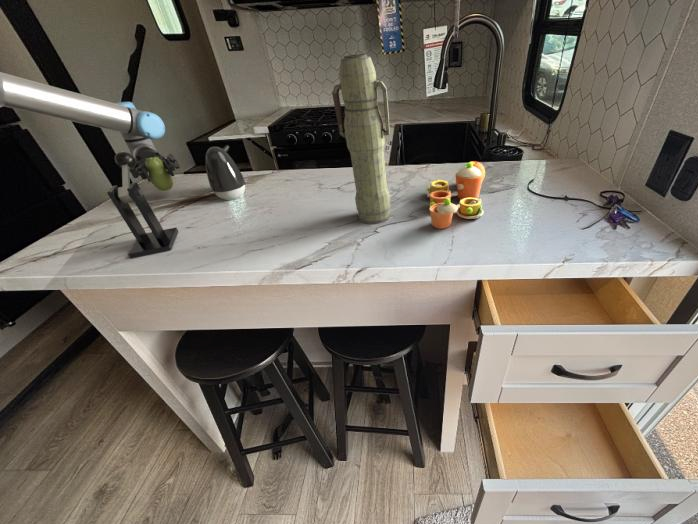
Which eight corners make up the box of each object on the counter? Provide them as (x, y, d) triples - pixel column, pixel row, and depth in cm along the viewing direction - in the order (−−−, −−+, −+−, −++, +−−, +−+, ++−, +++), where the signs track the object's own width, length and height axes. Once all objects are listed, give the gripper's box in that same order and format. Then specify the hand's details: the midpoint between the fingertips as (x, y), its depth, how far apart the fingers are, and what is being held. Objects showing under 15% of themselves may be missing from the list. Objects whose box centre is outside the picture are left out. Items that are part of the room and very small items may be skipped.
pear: (156, 194, 102) (138, 160, 96) (157, 189, 106) (139, 156, 100) (176, 190, 104) (160, 156, 98) (176, 185, 108) (161, 152, 102)
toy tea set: (426, 191, 101) (426, 157, 95) (479, 189, 100) (482, 155, 93) (424, 232, 81) (423, 193, 75) (489, 231, 79) (494, 191, 73)
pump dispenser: (256, 192, 110) (239, 142, 101) (232, 204, 103) (211, 153, 94) (233, 189, 114) (215, 141, 104) (209, 201, 107) (186, 150, 97)
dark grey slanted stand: (141, 238, 89) (107, 183, 80) (178, 231, 91) (149, 176, 82) (130, 258, 81) (90, 199, 72) (171, 250, 83) (137, 191, 74)
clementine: (466, 192, 98) (468, 167, 94) (453, 185, 103) (454, 161, 99) (488, 186, 101) (491, 161, 96) (474, 179, 106) (476, 156, 101)
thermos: (355, 210, 94) (330, 56, 72) (397, 208, 93) (385, 51, 71) (350, 224, 87) (321, 59, 65) (395, 222, 86) (382, 54, 64)
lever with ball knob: (121, 162, 84) (110, 149, 80) (139, 159, 85) (129, 146, 81) (122, 206, 79) (110, 195, 75) (141, 203, 80) (130, 191, 76)
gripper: (183, 163, 119) (198, 178, 104) (123, 177, 111) (130, 195, 96) (173, 140, 115) (187, 153, 100) (109, 153, 106) (115, 169, 91)
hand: (159, 174), depth 98 cm, fingers closed on pear, 5 cm apart
